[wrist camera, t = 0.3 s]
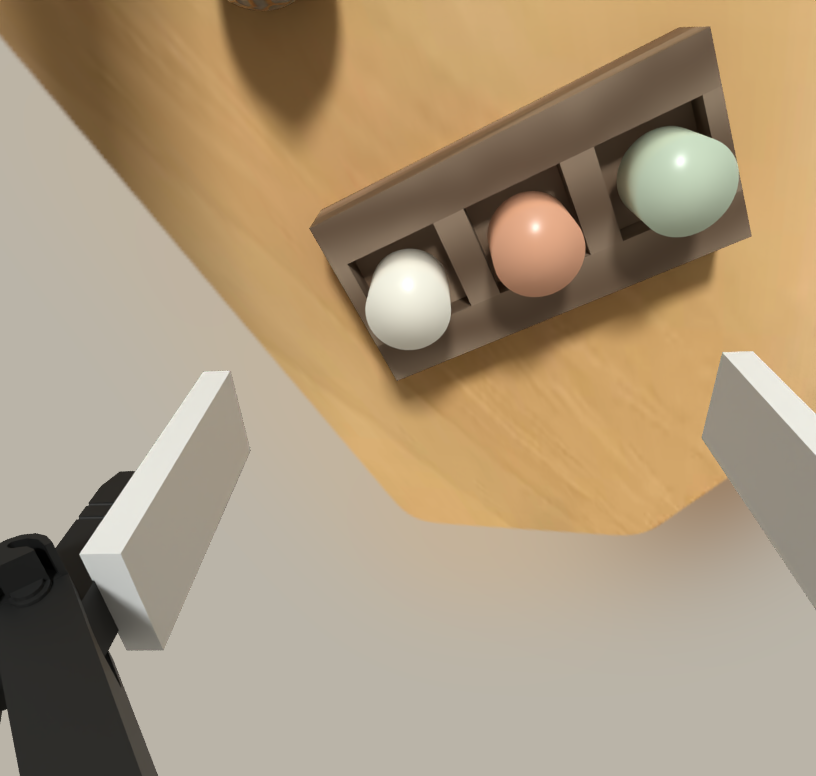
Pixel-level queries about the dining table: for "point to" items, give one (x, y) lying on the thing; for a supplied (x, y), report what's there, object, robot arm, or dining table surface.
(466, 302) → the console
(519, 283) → the button terracotta
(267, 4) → the vase
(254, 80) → the dining table surface
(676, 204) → the button sage
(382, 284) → the button cream
